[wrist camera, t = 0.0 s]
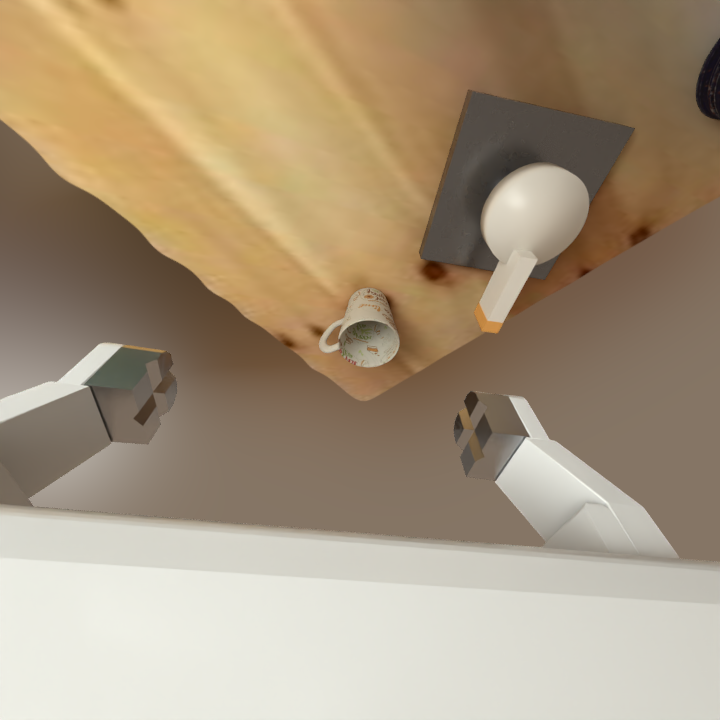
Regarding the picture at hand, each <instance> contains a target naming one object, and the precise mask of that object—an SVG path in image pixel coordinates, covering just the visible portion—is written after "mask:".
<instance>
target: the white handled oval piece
mask: <svg viewBox="0 0 720 720" xmlns="http://www.w3.org/2000/svg"><path fill="white" fill-rule="evenodd" d="M588 210H589V195H588V192H587V189H586V187H585V185H584V183H583V182H582V181H581V180H580V179H579V178H578V177H577V176H576V175H574V174H572V173H571V172H569V171H567V170H565V169H564V168H562V167H560V166H558V165H556V164H552V163H546V162H538V163H532V164H528V165H525V166H523V167H520V168H518V169H516V170H515V171H513V172H511V173H510V174H508V175H507V176H506V177H504V178H503V179H502V180H501V181H500V182H499V183H498V184H497V185H496V186H495V187H494V189H493V190H492V191H491V193H490V195H489V196H488V198H487V200H486V202H485V204H484V207H483V210H482V214H481V221H480V225H481V232H482V236H483V238H484V240H485V242H486V243H487V245H488V246H489V248H490V250H491V251H492V253H493V254H494V255H495V257H496V258H497V259H499V262H498V264H497V267H496V269H495V271H494V273H493V275H492V277H491V279H490V281H489V283H488V285H487V288H486V290H485V292H484V294H483V296H482V298H481V300H480V302H479V303H478V305H477V307H476V309H475V312H474V314H475V316H476V318H477V321H478V323H479V326H480V328H481V330H482V331H485V332H491V333H498V332H499V330H500V328H501V326H502V325H503V322H504V320H505V318H506V316H507V315H508V313H509V311H510V309H511V307H512V306H513V304H514V302H515V300H516V298H517V297H518V295H519V293H520V291H521V289H522V288H523V286H524V284H525V282H526V280H527V279H528V277H529V275H530V273H531V271H532V270H533V268H534V266H535V265H538V264H541V263H544V262H546V261H548V260H550V259H552V258H554V257H555V256H557V255H558V254H560V253H561V252H562V251H564V250H565V249H566V248H567V247H568V246H569V245H570V244H571V243H572V242H573V241H574V240H575V238H576V237H577V236H578V234H579V233H580V231H581V229H582V227H583V226H584V223H585V221H586V218H587V215H588Z"/></svg>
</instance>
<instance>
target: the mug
mask: <svg viewBox="0 0 720 720" xmlns="http://www.w3.org/2000/svg"><path fill="white" fill-rule="evenodd" d="M341 324H342V326H341V330H340V333H339V337H338V343H336V344H334V345H332V346H329V345H327V343H326V342H327V339H328V337H329V335H330V334H331V332H332V331H333V330H334V329H335V328H336V327H338V326H339V325H341ZM399 345H400V340H399V335H398V332H397V329H396V326H395V323H394V320H393V317H392V314H391V311H390V308H389V305H388V302H387V299H386V297H385V296H384V294H383V293H382V292H380V291H379V290H377V289H374V288H363V289H360V290H358V291H356V292H355V293H354V294H353V295H352V296H351V298H350V300H349V303H348V307H347V310H346V313H345V317H344V318H343V319H340V320H338V321H336V322H334V323H333V324H332V325H330V326H329V328H328V329H327V330H326V331H325V332H324V334H323V335H322V337H321V339H320V342H319V347H320V349H321V351H323V352H325V353H331V352H334V351H337V350H339V351H340V353H341V355H342V356H343V357H344V358H345V359H346V360H347V361H349V362H350V363H352V364H354V365H357V366H361V367H376V366H380V365H383V364H385V363H387V362H388V361H390V360H391V359H392V358H393V357H394V356H395V355H396V353H397V352H398V349H399Z"/></svg>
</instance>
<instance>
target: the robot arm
mask: <svg viewBox="0 0 720 720" xmlns="http://www.w3.org/2000/svg"><path fill="white" fill-rule="evenodd" d="M172 365H173V361H172V357H171V354H170V353H169V352H167V351H163V350H156V349H149V348H142V347H136V346H130V345H121V344H114V343H107V342H106V343H101V344H99V345H98V346H97V347H96V348H95V349H93V350H92V351H91V352H90V353H89V354H88V355H87V356H86V357H85V358H83V359H82V360H81V361H80V362H79V363H78V364H77V365H76V366H75V367H73V368H72V369H71V370H70V371H69V372H68V373H67V374H66V375H65V376H64V377H62V378H61V379H60V380H59V381H58V382H47V383H44V384H41V385H39V386H36V387H33V388H30V389H28V390H25V391H22V392H19V393H17V394H14V395H11V396H9V397H6V398H3V399H0V720H720V562H714V561H702V560H689V559H680V558H679V556H678V555H677V554H676V552H675V551H674V549H673V548H672V547H671V545H670V544H669V542H668V541H667V540H666V538H665V537H664V535H663V534H662V533H661V531H660V530H659V529H658V527H657V526H656V524H655V523H654V522H653V520H652V519H651V517H650V516H649V514H648V513H647V512H646V510H645V509H644V508H643V507H642V506H641V505H640V504H638V503H637V502H636V501H634V500H633V499H632V498H630V497H629V496H628V495H626V494H625V493H624V492H622V491H621V490H619V489H618V488H617V487H616V486H614V485H613V484H612V483H610V482H609V481H608V480H606V479H605V478H604V477H602V476H601V475H600V474H599V473H597V472H596V471H595V470H593V469H592V468H591V467H589V466H588V465H587V464H585V463H584V462H583V461H581V460H580V459H579V458H577V457H576V456H575V455H573V454H572V453H571V452H569V451H568V450H566V449H565V448H564V447H563V446H561V445H560V444H559V443H557V442H556V441H553V440H550V439H549V438H548V436H547V435H546V433H545V431H544V429H543V428H542V426H541V424H540V423H539V421H538V419H537V417H536V416H535V414H534V412H533V411H532V409H531V407H530V406H529V404H528V402H527V400H526V399H524V398H523V397H521V396H512V395H499V394H491V393H483V392H475V391H470V392H469V393H468V394H467V396H466V398H465V400H464V403H465V406H466V408H465V409H463V410H462V411H460V412H458V415H457V417H456V420H455V425H454V437H455V441H456V444H457V445H458V446H459V447H460V448H461V449H462V450H463V453H462V454H461V456H460V458H461V461H462V465H463V468H464V471H465V475H466V477H470V478H479V479H486V480H493V481H496V484H497V485H498V486H499V487H500V488H501V490H502V491H503V492H504V493H505V494H506V495H507V497H508V498H509V499H510V500H511V501H512V503H513V504H514V505H515V506H516V507H517V508H518V510H519V511H520V512H521V513H522V514H523V515H524V517H525V518H526V519H527V520H528V521H529V523H530V524H531V525H532V526H533V527H534V528H535V529H536V531H537V532H538V533H539V534H540V535H541V537H542V538H543V539H544V540H545V541H546V543H545V544H544V545H543V546H542V547H528V546H516V545H504V544H491V543H479V542H467V541H455V540H442V539H429V538H417V537H404V536H392V535H391V536H390V535H379V534H367V533H354V532H341V531H328V530H317V529H304V528H292V527H279V526H268V525H255V524H243V523H230V522H218V521H206V520H194V519H193V520H192V519H181V518H169V517H157V516H144V515H132V514H120V513H107V512H95V511H81V510H69V509H58V508H45V507H34V506H33V505H32V504H31V502H30V501H29V499H28V498H30V497H32V496H33V495H35V494H36V493H38V492H39V491H40V490H42V489H44V488H45V487H47V486H48V485H50V484H51V483H53V482H54V481H56V480H57V479H59V478H60V477H62V476H63V475H65V474H66V473H68V472H69V471H70V470H72V469H74V468H75V467H77V466H78V465H80V464H81V463H83V462H84V461H86V460H87V459H89V458H90V457H92V456H93V455H95V454H96V453H98V452H99V451H101V450H102V449H104V448H105V447H107V446H108V445H110V444H111V442H122V443H135V444H149V442H150V440H151V439H152V438H153V436H154V434H155V433H156V431H157V430H158V428H159V427H160V425H161V423H160V419H159V417H160V416H162V415H164V414H165V413H167V412H169V410H170V409H171V407H172V405H173V404H174V401H175V397H176V394H177V382H176V377H175V376H174V375H173V374H172V373H171V372H170V371H169V369H170V368H171V367H172Z"/></svg>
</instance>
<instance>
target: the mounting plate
mask: <svg viewBox="0 0 720 720" xmlns="http://www.w3.org/2000/svg"><path fill="white" fill-rule="evenodd" d="M634 129H635V128H632V127H628V126H625V125H620V124H616V123H612V122H607V121H603V120H598V119H594V118H590V117H585V116H581V115H577V114H572V113H568V112H563V111H559V110H555V109H550V108H546V107H542V106H537V105H533V104H528V103H524V102H520V101H515V100H511V99H507V98H502V97H498V96H493V95H489V94H485V93H480V92H476V91H472V90H468V92H467V96H466V99H465V102H464V105H463V109H462V112H461V115H460V119H459V122H458V125H457V129H456V132H455V135H454V139H453V142H452V145H451V148H450V152H449V155H448V158H447V162H446V165H445V168H444V172H443V175H442V178H441V181H440V185H439V188H438V191H437V195H436V198H435V201H434V205H433V208H432V211H431V214H430V218H429V221H428V224H427V228H426V231H425V234H424V238H423V241H422V244H421V248H420V251H419V254H420V257H421V259H426V260H432V261H438V262H443V263H449V264H455V265H461V266H467V267H473V268H479V269H484V270H490V271H495V269H496V267H497V264H498V262H499V259H497V258H496V257H495V255H494V254H493V253H492V251H491V250H490V248H489V246H488V245H487V243H486V242H485V240H484V238H483V236H482V232H481V225H480V221H481V214H482V210H483V207H484V204H485V202H486V200H487V198H488V196H489V195H490V193H491V191H492V190H493V189H494V187H495V186H496V185H497V184H498V183H499V182H500V181H501V180H502V179H503V178H504V177H506V176H507V175H508V174H510V173H511V172H513V171H515V170H516V169H518V168H520V167H523V166H525V165H528V164H532V163H538V162H546V163H552V164H556V165H558V166H560V167H562V168H564V169H565V170H567V171H569V172H571V173H572V174H574V175H576V176H577V177H578V178H579V179H580V180H581V181H582V182H583V183H584V185H585V187H586V189H587V192H588V195H589V205H590V203H591V201H592V200H593V198H594V196H595V195H596V193H597V191H598V190H599V188H600V186H601V185H602V183H603V181H604V180H605V178H606V176H607V174H608V173H609V171H610V169H611V168H612V166H613V164H614V163H615V161H616V159H617V158H618V156H619V154H620V153H621V151H622V149H623V148H624V146H625V144H626V143H627V141H628V139H629V138H630V136H631V134H632V133H633V131H634ZM559 255H560V254H558V255H557V256H555V257H554V258H552V259H550V260H548V261H546V262H544V263H541V264H538V265H535V266H534V268H533V270H532V271H531V273H530V275H529V277H531V278H537V279H543V280H545V278H546V277H547V275H548V273H549V272H550V270H551V268H552V267H553V265H554V263H555V262H556V260H557V258H558V257H559Z"/></svg>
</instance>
